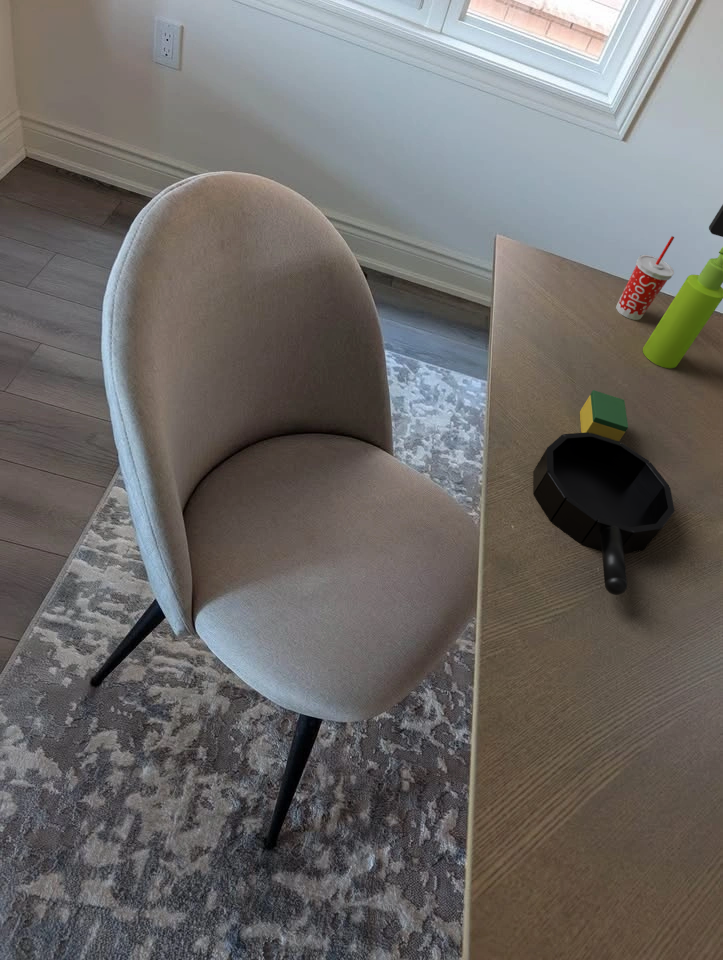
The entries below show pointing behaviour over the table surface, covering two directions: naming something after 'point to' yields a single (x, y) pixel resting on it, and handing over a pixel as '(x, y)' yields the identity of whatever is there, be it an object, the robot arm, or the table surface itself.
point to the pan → (603, 498)
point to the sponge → (604, 416)
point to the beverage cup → (644, 285)
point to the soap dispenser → (686, 315)
